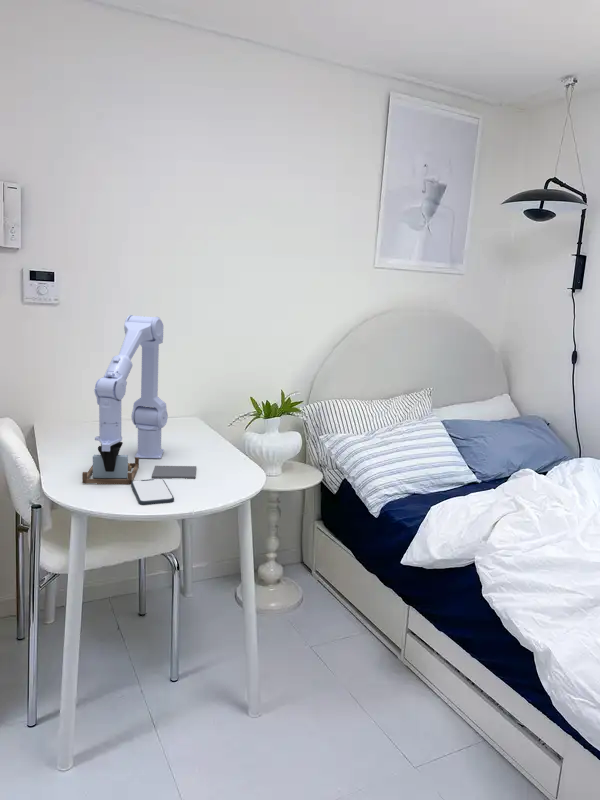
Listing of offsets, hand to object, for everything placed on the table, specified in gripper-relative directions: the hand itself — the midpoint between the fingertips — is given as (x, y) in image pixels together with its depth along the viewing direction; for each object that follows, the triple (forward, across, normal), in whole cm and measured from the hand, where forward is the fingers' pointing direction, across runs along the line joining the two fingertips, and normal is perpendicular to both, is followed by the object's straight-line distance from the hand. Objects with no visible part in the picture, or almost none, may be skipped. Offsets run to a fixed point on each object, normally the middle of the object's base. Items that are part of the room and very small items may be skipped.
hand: (110, 469), depth 162 cm
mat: (+2, -5, +17) cm, 18 cm away
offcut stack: (+2, -7, 0) cm, 8 cm away
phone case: (+3, +12, +12) cm, 18 cm away
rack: (+2, -2, 0) cm, 3 cm away
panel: (+2, 0, 0) cm, 2 cm away
